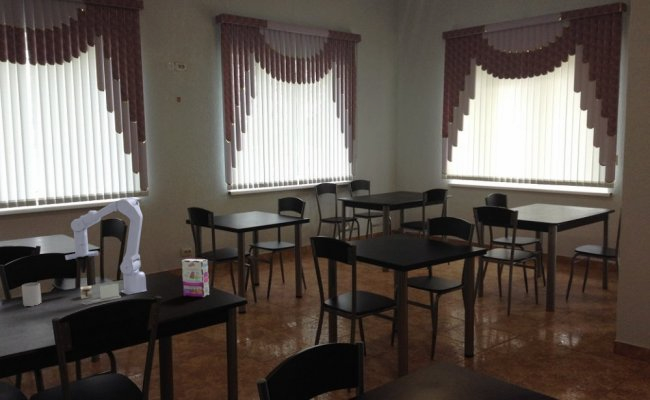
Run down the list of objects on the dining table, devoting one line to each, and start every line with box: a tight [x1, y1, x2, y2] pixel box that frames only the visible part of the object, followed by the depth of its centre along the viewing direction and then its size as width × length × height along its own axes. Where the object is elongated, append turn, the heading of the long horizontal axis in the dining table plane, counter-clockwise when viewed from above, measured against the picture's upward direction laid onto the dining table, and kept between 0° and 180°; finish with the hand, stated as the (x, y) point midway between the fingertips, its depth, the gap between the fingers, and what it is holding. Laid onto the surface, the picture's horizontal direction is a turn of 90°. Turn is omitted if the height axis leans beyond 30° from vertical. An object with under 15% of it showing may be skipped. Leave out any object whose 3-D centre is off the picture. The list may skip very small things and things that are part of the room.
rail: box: [82, 294, 122, 306], centre depth 266 cm, size 16×2×1 cm, turn 131°
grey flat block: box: [99, 282, 120, 299], centre depth 268 cm, size 8×1×6 cm, turn 131°
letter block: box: [80, 285, 93, 300], centre depth 273 cm, size 4×5×4 cm
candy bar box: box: [181, 258, 210, 298], centre depth 270 cm, size 11×5×16 cm, turn 68°
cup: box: [21, 282, 42, 307], centre depth 264 cm, size 7×10×9 cm
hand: (83, 272), depth 281 cm, fingers closed
